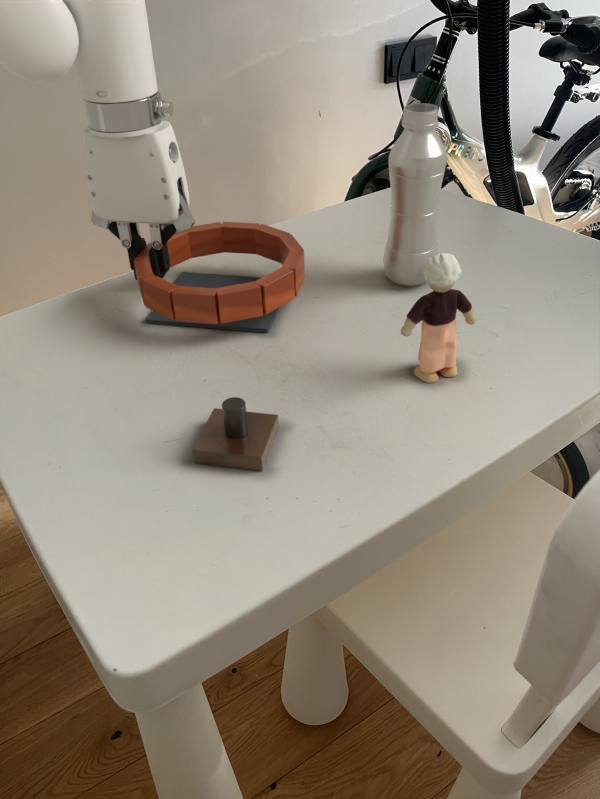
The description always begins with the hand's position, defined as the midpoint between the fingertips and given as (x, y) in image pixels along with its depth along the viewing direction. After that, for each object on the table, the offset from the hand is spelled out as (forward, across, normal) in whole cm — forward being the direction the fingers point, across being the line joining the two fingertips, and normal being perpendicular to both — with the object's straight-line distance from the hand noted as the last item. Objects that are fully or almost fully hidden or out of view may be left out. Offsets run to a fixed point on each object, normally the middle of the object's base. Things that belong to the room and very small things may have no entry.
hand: (152, 274), depth 86 cm
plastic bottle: (+3, -29, -9) cm, 31 cm away
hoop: (0, -8, 0) cm, 9 cm away
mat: (+3, -8, 0) cm, 9 cm away
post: (+3, -17, +25) cm, 31 cm away
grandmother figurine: (+3, -33, +11) cm, 35 cm away
